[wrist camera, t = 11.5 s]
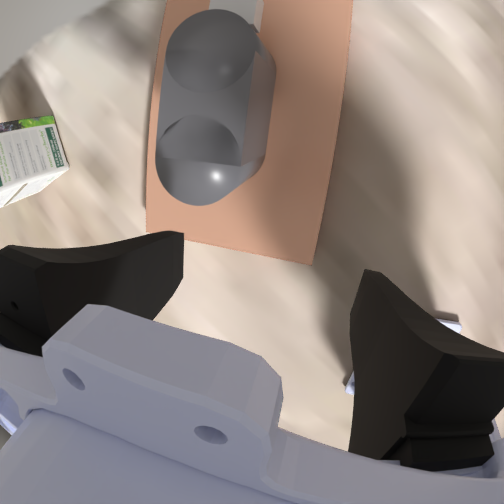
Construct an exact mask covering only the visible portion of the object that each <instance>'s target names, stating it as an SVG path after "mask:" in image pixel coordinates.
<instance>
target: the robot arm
mask: <svg viewBox="0 0 504 504" xmlns="http://www.w3.org/2000/svg"><path fill="white" fill-rule="evenodd" d="M183 258H184V233H182V232H177V231H171V230H168V231H161V232H156V233H151V234H147V235H143V236H139V237H135V238H131V239H127V240H123V241H118V242H114V243H109V244H103V245H97V246H90V247H79V248H62V249H51V248H33V247H24V246H16V245H8V246H6V247H4V248H3V249H1V250H0V424H1V425H2V426H3V427H4V428H5V429H6V430H7V431H8V432H9V433H10V434H11V435H12V436H11V437H10V439H9V440H8V441H7V442H6V444H5V445H4V446H3V447H2V449H1V450H0V504H504V438H501V436H500V433H499V430H498V427H497V424H496V421H495V419H494V418H495V417H496V416H497V414H498V413H499V412H500V411H501V410H502V409H503V407H504V353H503V352H501V351H498V350H495V349H492V348H489V347H486V346H484V345H482V344H479V343H477V342H475V341H473V340H470V339H468V338H466V337H465V336H463V335H461V334H459V333H460V331H461V329H462V326H461V324H460V323H459V322H454V321H448V320H442V319H436V318H433V317H432V316H431V315H429V314H428V313H427V312H425V311H424V310H423V309H422V308H420V307H419V306H418V305H417V304H416V303H414V302H413V301H412V300H411V299H410V298H409V297H408V296H406V295H405V294H404V293H403V292H402V291H401V290H400V289H399V288H398V287H397V286H396V285H395V284H393V283H392V282H391V281H390V280H389V279H388V278H387V277H386V276H384V275H383V274H382V273H380V272H376V271H372V270H367V269H365V270H364V273H363V276H362V280H361V283H360V286H359V289H358V292H357V295H356V298H355V301H354V304H353V307H352V310H351V313H350V341H351V351H352V360H353V370H354V371H353V373H352V375H351V377H350V379H349V381H348V383H347V385H346V387H345V392H346V393H348V394H354V407H353V418H352V428H351V436H350V443H349V449H348V452H347V451H344V450H341V449H338V448H334V447H331V446H328V445H325V444H322V443H319V442H317V441H314V440H311V439H308V438H305V437H303V436H300V435H297V434H295V433H292V432H290V431H287V430H285V429H282V428H280V427H278V422H279V417H280V412H281V407H282V402H283V391H282V382H281V377H280V376H279V375H278V374H277V373H276V372H275V370H274V369H273V368H272V367H271V366H270V365H269V364H268V363H267V362H266V361H265V360H264V359H263V358H262V356H259V355H257V354H255V353H252V352H250V351H248V350H246V349H243V348H241V347H239V346H237V345H235V344H232V343H230V342H226V341H223V340H219V339H215V338H211V337H207V336H204V335H200V334H196V333H193V332H189V331H186V330H182V329H179V328H175V327H172V326H168V325H165V324H162V323H159V322H155V321H153V319H154V318H155V317H156V316H157V314H158V313H159V312H160V311H161V309H162V308H163V307H164V306H165V305H166V303H167V302H168V301H169V300H170V298H171V297H172V296H173V294H174V293H175V291H176V289H177V288H178V286H179V284H180V282H181V280H182V279H183ZM352 382H354V383H352Z"/></svg>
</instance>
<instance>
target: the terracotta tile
mask: <svg viewBox="0 0 504 504" xmlns="http://www.w3.org/2000/svg"><path fill="white" fill-rule="evenodd" d="M263 2H264V7H263V13H262V20H261V27H260V33H256V34H257V36H258V37H259V38H260V40H261V41H262V42H263V44H264V45H265V47H266V48H267V50H268V51H269V52H270V54H271V55H272V57H273V59H274V61H275V64H276V79H275V87H274V94H273V102H272V109H271V117H270V125H269V132H268V140H267V147H266V155H265V159H264V162H263V164H262V166H261V168H260V169H259V170H258V172H257V173H256V174H254V175H253V176H252V177H251V178H249V179H248V180H246V181H245V182H244V183H242V184H241V185H240V186H238V187H237V188H236V189H234V190H233V191H232V192H230V193H229V194H228V195H226V196H225V197H224V198H222V199H221V200H219V201H217V202H215V203H213V204H209V205H204V206H193V205H188V204H185V203H183V202H181V201H179V200H177V199H175V198H174V197H173V196H171V195H170V194H169V193H168V192H167V191H166V189H165V188H164V187H163V185H162V184H161V182H160V180H159V177H158V175H157V171H156V165H155V151H156V136H157V123H158V112H159V102H160V92H161V83H162V75H163V68H164V60H165V53H166V48H167V44H168V41H169V39H170V37H171V35H172V33H173V32H174V30H175V29H176V28H177V27H178V26H179V25H180V24H181V23H182V22H183V21H184V20H186V19H187V18H188V17H190V16H192V15H194V14H196V13H198V12H201V11H205V10H209V5H210V0H167V3H166V8H165V13H164V18H163V23H162V29H161V35H160V41H159V47H158V54H157V60H156V68H155V75H154V84H153V93H152V102H151V113H150V125H149V139H148V156H147V181H146V232H149V233H156V232H161V231H168V230H171V231H177V232H182V233H184V240H188V241H193V242H198V243H203V244H208V245H213V246H218V247H223V248H228V249H233V250H238V251H242V252H247V253H252V254H257V255H262V256H267V257H272V258H277V259H282V260H287V261H292V262H297V263H302V264H307V265H312V262H313V257H314V253H315V249H316V244H317V239H318V235H319V230H320V225H321V220H322V215H323V210H324V205H325V200H326V195H327V190H328V185H329V179H330V174H331V168H332V163H333V157H334V151H335V145H336V139H337V133H338V126H339V120H340V113H341V106H342V99H343V92H344V84H345V76H346V68H347V60H348V51H349V41H350V31H351V20H352V8H353V0H263Z"/></svg>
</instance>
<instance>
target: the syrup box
mask: <svg viewBox="0 0 504 504" xmlns="http://www.w3.org/2000/svg"><path fill="white" fill-rule="evenodd" d="M69 168H70V167H69V164H68V162H67V161H66V158H65V155H64V151H63V148H62V145H61V142H60V138H59V135H58V132H57V128H56V125H55V121H54V117H53V116H43V117H35V118H28V119H21V120H15V121H10V122H4V123H0V208H1V207H4V206H6V205H8V204H11V203H13V202H16V201H18V200H20V199H23V198H25V197H28V196H30V195H33V194H35V193H38V192H40V191H41V190H42V189H44V188H45V187H46V186H47V185H49V184H50V183H51V182H52V181H54V180H55V179H56V178H58V177H59V176H60V175H62V174H63V173H64V172H66V171H67V170H68V169H69Z"/></svg>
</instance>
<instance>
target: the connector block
mask: <svg viewBox="0 0 504 504" xmlns="http://www.w3.org/2000/svg"><path fill="white" fill-rule="evenodd" d="M263 7H264V2H263V0H210V5H209V10H205V11H201V12H198V13H196V14H194V15H192V16H190V17H188V18H187V19H186V20H184V21H183V22H182V23H181V24H180V25H179V26H178V27H177V28H176V29H175V30H174V32H173V33H172V35H171V37H170V39H169V41H168V44H167V48H166V53H165V60H164V68H163V75H162V83H161V92H160V102H159V112H158V123H157V136H156V151H155V165H156V171H157V175H158V177H159V180H160V182H161V184H162V185H163V187H164V188H165V189H166V191H167V192H168V193H169V194H170V195H171V196H173V197H174V198H175V199H177V200H179V201H181V202H183V203H185V204H188V205H193V206H204V205H209V204H213V203H215V202H217V201H219V200H221V199H222V198H224V197H225V196H226V195H228V194H229V193H230V192H232V191H233V190H234V189H236V188H237V187H238V186H240V185H241V184H242V183H244V182H245V181H246V180H248V179H249V178H251V177H252V176H253V175H254V174H256V173H257V172H258V170H259V169H260V168H261V166H262V164H263V162H264V159H265V155H266V147H267V140H268V132H269V125H270V117H271V109H272V102H273V94H274V87H275V79H276V64H275V61H274V59H273V57H272V55H271V54H270V52H269V51H268V50H267V48H266V47H265V45H264V44H263V42H262V41H261V40H260V38H259V37H258V36H257V34H256V33H260V27H261V20H262V13H263Z"/></svg>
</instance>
